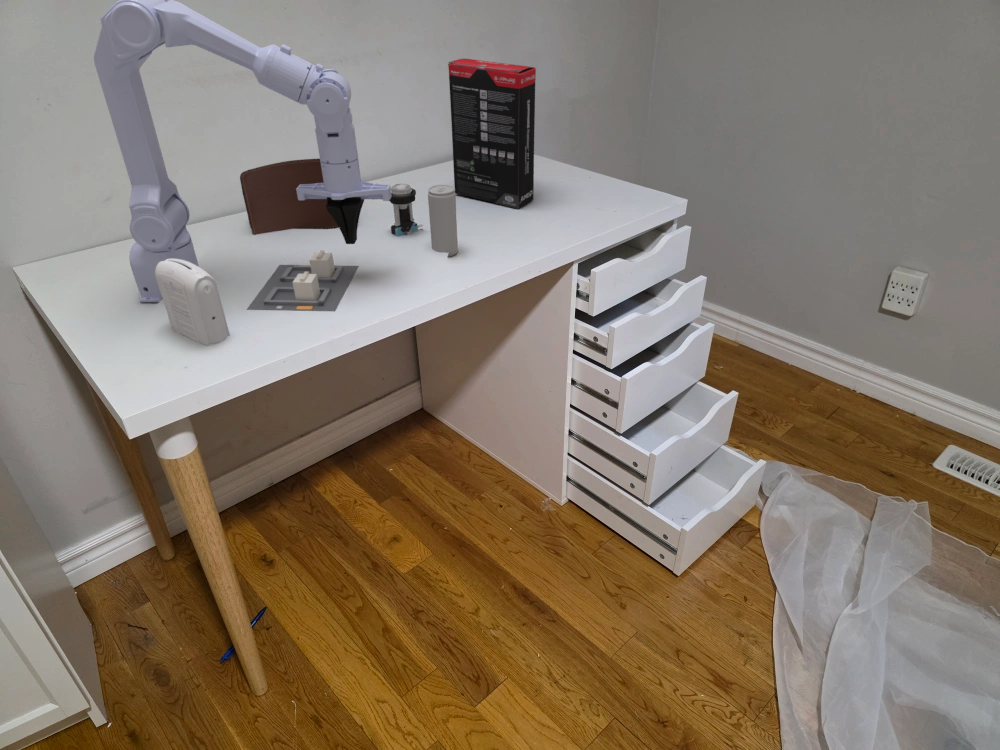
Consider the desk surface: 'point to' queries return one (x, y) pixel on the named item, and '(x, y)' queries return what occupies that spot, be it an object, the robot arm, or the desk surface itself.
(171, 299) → the photo printer
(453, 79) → the graphics card box
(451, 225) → the beverage can
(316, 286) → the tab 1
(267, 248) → the desk surface
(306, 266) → the switch bank
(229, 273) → the desk surface
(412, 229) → the push button
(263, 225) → the letter holder
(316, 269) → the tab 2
